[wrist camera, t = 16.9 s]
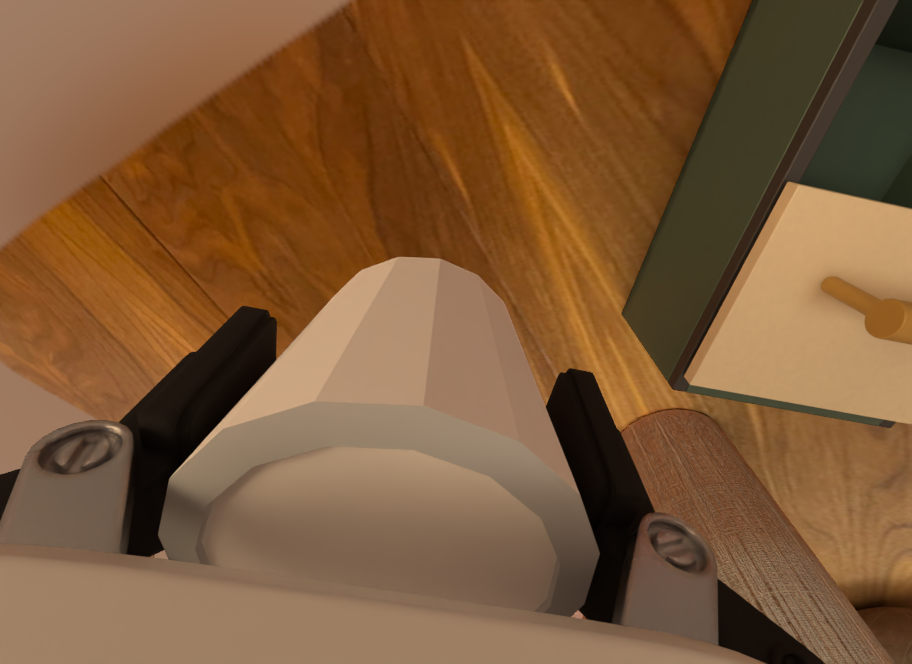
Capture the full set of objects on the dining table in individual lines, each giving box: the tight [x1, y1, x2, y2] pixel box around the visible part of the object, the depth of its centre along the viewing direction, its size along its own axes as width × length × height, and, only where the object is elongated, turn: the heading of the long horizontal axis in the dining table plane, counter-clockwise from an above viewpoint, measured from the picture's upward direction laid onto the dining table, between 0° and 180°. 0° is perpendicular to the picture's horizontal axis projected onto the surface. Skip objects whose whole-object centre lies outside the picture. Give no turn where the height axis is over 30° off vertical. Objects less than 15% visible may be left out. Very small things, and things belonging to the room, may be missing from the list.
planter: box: [621, 410, 895, 664], centre depth 30 cm, size 10×10×23 cm
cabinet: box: [622, 0, 912, 428], centre depth 26 cm, size 20×14×10 cm
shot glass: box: [158, 257, 600, 617], centre depth 10 cm, size 7×7×7 cm
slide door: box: [684, 182, 912, 424], centre depth 20 cm, size 10×14×5 cm
